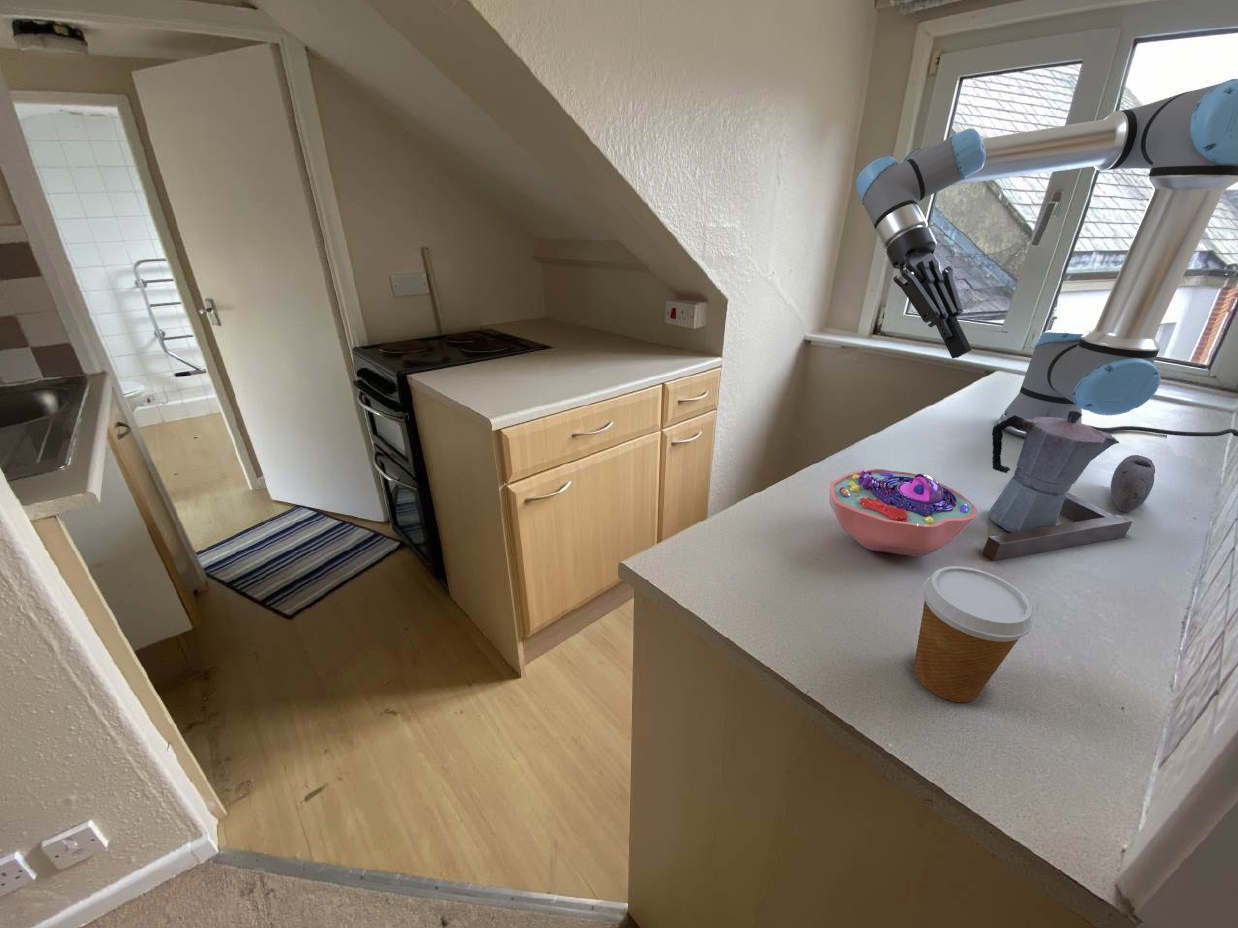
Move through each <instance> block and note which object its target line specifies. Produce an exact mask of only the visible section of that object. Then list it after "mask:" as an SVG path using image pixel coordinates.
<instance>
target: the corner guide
mask: <svg viewBox="0 0 1238 928" xmlns="http://www.w3.org/2000/svg"><path fill="white" fill-rule="evenodd" d="M1066 496H1067V497H1068V499H1067V501H1065V502H1064V503H1063V505H1062V508H1061V511H1060V514H1061V515H1063V516H1065V517H1066V518H1069V519H1070V520H1072V521H1074V522H1067V523H1061V524H1056V525H1055V526H1049V527H1043V528H1037V529H1031V530H1025V531H1019V532H1013V533H1012V532H1008V533H1003V534H996V535H990V536H988V537H987V539H986V542H985V544H984V547H983V550H982V553H981V554H983V555H984V556H985V557H987V558H989V559H990V560H992V561H993V562H994V561H999V560H1000V561H1001V560H1006V559H1013V558H1017V557H1021V556H1028V555H1033V554H1040V553H1045V552H1049V551H1055V550H1060V549H1067V548H1072V547H1077V546H1083V545H1089V544H1094V543H1100V542H1104V541H1105V542H1106V541H1111V540H1116V539H1121V538H1125V537H1126V535H1127V533H1128V532H1129V529H1130V528H1131V526H1132V524H1133V520H1132V519H1130V518H1127V517H1125V516H1124V515H1121V514H1115V515H1114V514H1112V513H1110V512H1108V511H1106V510H1104V509H1102V508H1101V507H1098V506H1097V505H1094V504H1092V503H1090V502H1088V501H1086V500H1084V499H1083V498H1080V497H1077V496H1075V495H1073V494H1072V493H1069V492H1066Z"/></svg>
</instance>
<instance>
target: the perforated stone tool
mask: <svg viewBox="0 0 1238 928" xmlns="http://www.w3.org/2000/svg"><path fill="white" fill-rule="evenodd" d="M1155 474H1156V467H1155V465H1154V463H1153V460H1152V459H1150V458H1149V457H1146V456H1143V455H1139V454H1132V455H1129V456H1127V457H1125V458H1124V459H1123V460H1122V461H1121V462H1119V464H1117V467H1116V468H1115V470H1114V471H1113V474H1112V476H1111V480H1110V494H1111V499H1112V501H1113V504H1114V506H1115V508H1116V509H1117V510H1119V511H1121V512H1126V513H1127V512H1132V511H1134V510H1136V509H1138V508H1139V507H1141V506H1142V505H1143V504H1144V503H1145V502H1146V500H1147V499H1148V497H1149V495H1150V494H1151V492H1152V489H1153V486H1154V484H1155Z"/></svg>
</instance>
